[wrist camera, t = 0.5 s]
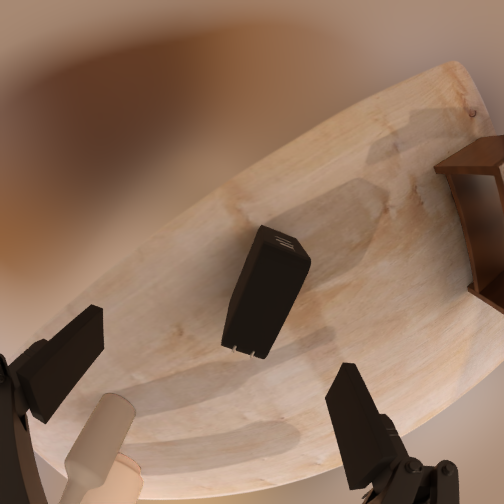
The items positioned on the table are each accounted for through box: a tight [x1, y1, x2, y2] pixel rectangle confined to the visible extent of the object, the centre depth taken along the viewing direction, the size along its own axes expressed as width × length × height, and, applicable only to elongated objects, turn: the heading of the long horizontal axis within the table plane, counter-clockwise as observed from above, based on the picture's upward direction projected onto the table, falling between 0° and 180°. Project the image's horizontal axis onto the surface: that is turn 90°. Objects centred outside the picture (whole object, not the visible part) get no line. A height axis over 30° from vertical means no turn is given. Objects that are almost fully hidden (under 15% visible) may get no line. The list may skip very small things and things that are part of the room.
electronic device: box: [221, 225, 311, 359], centre depth 27 cm, size 4×10×10 cm, turn 159°
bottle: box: [59, 393, 136, 504], centre depth 24 cm, size 7×7×28 cm
